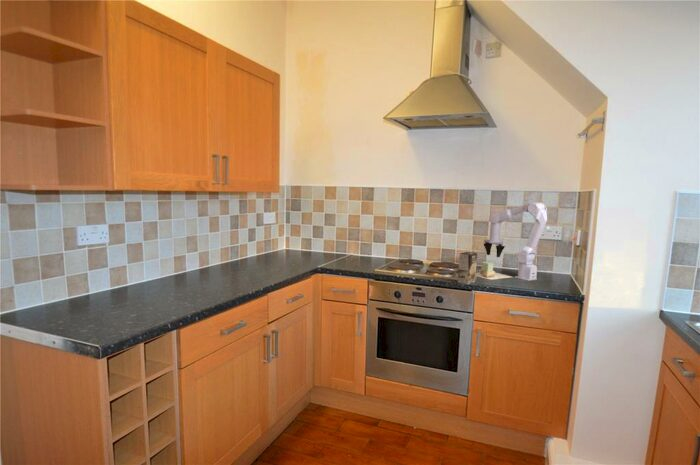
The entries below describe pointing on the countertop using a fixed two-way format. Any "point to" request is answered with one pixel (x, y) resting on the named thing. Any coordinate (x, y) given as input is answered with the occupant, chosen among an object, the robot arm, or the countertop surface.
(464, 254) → the coffee box
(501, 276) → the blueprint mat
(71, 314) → the countertop surface
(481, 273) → the beech base block
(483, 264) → the green cube
